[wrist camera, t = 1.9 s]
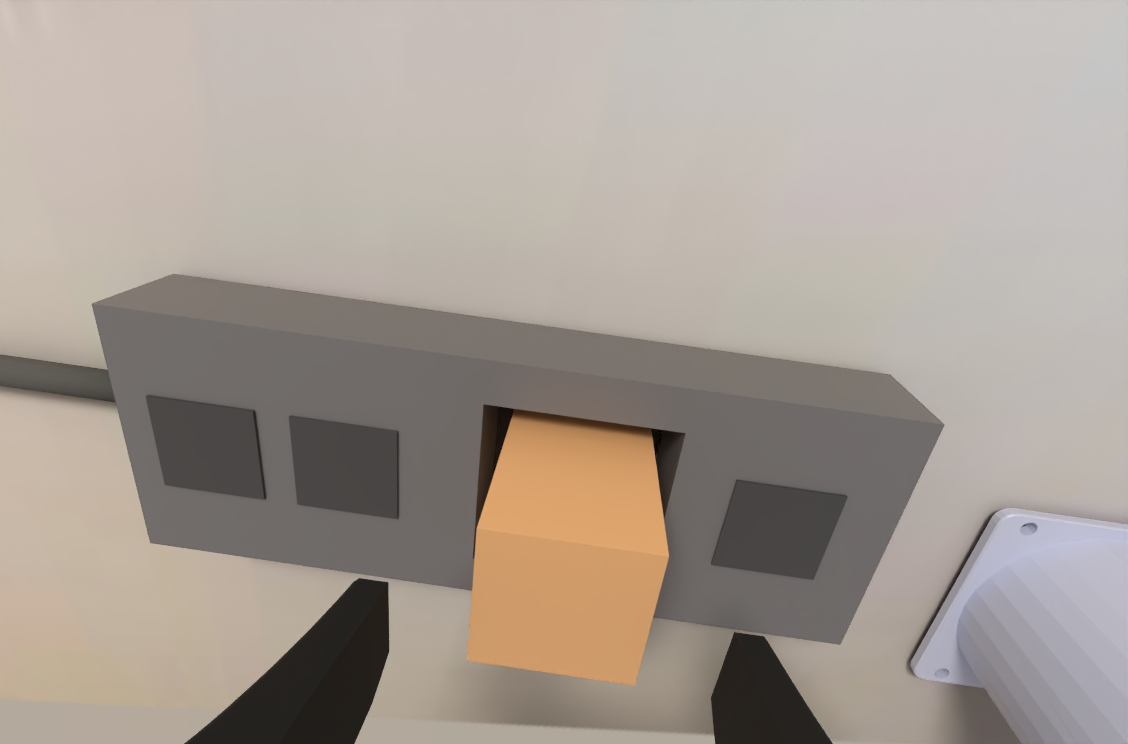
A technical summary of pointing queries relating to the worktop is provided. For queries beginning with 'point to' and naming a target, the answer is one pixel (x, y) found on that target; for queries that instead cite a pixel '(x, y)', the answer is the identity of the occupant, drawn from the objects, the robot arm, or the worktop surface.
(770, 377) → the power strip
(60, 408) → the worktop surface
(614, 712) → the worktop surface
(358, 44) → the worktop surface
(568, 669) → the orange rectangular block
